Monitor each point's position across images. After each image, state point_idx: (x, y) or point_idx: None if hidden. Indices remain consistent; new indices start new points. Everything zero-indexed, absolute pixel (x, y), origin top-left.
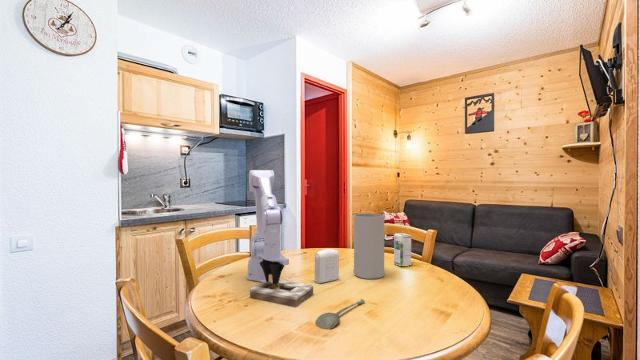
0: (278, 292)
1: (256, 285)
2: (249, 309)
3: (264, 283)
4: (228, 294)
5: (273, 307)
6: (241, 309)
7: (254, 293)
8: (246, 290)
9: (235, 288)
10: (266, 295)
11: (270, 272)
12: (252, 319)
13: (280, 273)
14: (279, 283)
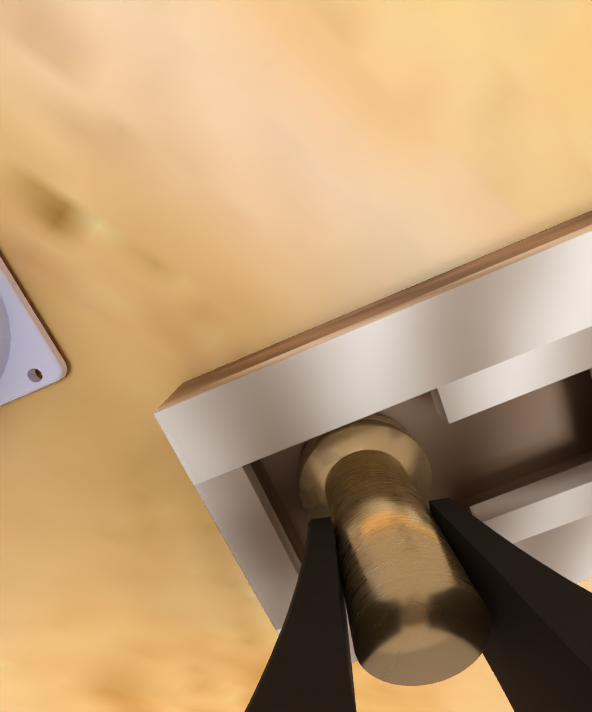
0: (563, 558)
1: (270, 615)
2: (461, 673)
3: (269, 540)
4: (148, 677)
5: None
6: (426, 700)
7: None
8: (150, 568)
9: (55, 607)
10: None
11: (354, 638)
12: None
13: (561, 585)
14: (357, 414)
